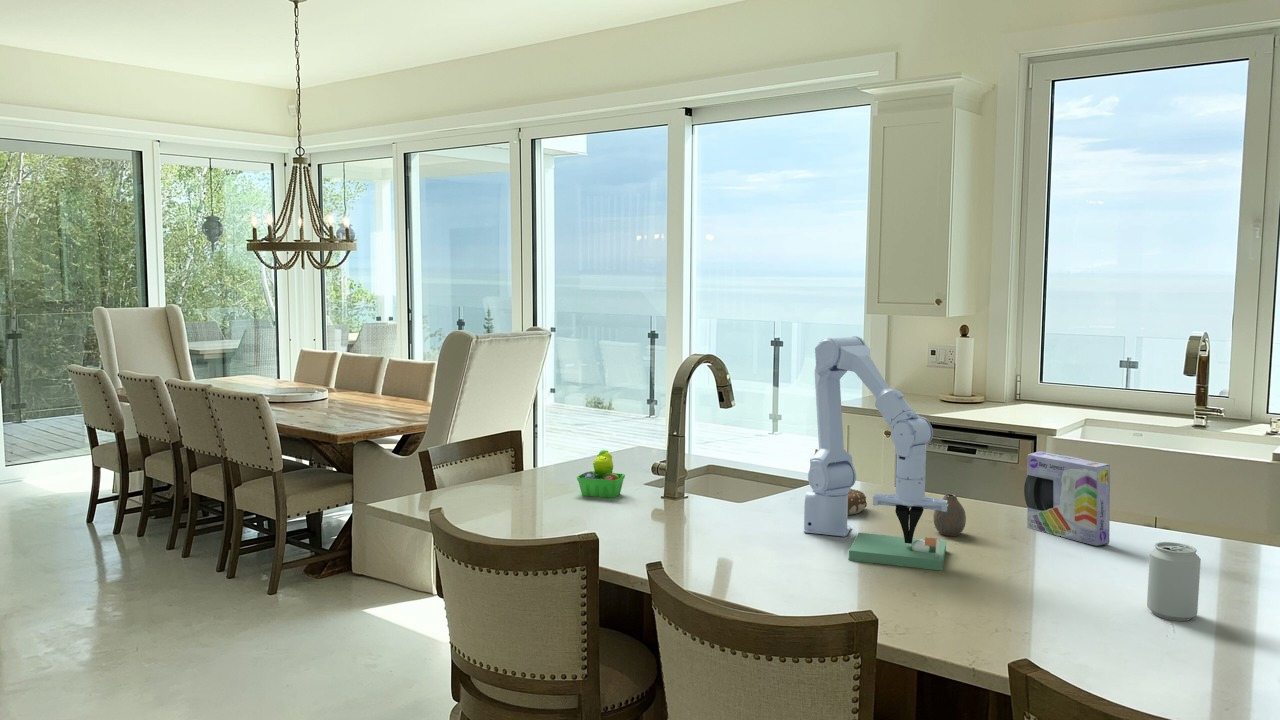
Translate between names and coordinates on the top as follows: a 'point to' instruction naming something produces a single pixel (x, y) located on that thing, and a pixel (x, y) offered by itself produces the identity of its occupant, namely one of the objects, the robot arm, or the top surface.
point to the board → (894, 552)
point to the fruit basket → (601, 478)
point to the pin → (933, 544)
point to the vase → (950, 517)
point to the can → (1173, 581)
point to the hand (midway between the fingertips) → (908, 542)
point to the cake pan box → (1068, 497)
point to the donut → (856, 501)
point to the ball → (920, 546)
